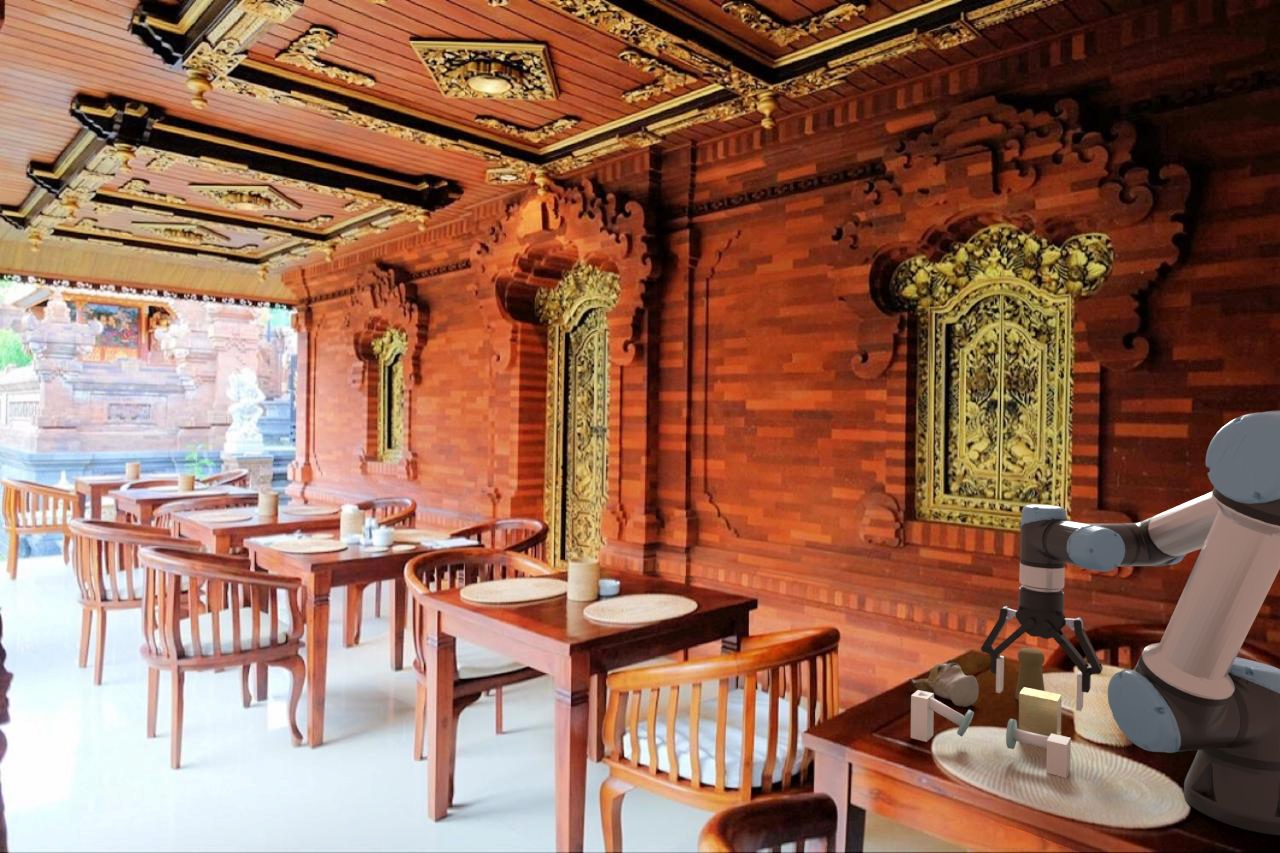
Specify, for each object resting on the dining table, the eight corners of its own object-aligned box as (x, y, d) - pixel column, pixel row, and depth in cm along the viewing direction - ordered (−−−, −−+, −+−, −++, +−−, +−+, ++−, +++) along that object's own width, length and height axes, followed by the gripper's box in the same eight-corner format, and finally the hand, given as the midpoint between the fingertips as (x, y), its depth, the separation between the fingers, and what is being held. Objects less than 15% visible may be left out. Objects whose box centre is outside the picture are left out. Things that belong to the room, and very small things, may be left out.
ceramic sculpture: (952, 670, 157) (906, 653, 172) (952, 712, 157) (906, 692, 171) (994, 666, 161) (945, 650, 175) (994, 708, 160) (946, 689, 174)
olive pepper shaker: (1008, 697, 167) (1009, 646, 167) (1027, 693, 170) (1028, 644, 170) (1033, 706, 162) (1033, 654, 162) (1052, 702, 164) (1053, 651, 164)
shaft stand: (1070, 768, 132) (1071, 719, 132) (1065, 778, 128) (1066, 728, 128) (918, 730, 148) (918, 686, 148) (909, 738, 144) (910, 693, 144)
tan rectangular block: (1023, 733, 147) (1024, 687, 147) (1060, 742, 143) (1061, 694, 143) (1018, 741, 143) (1019, 693, 143) (1056, 750, 139) (1057, 701, 140)
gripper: (1121, 594, 139) (1118, 710, 139) (976, 574, 154) (973, 679, 154) (1116, 602, 133) (1113, 722, 133) (966, 580, 148) (963, 689, 148)
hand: (1038, 699), depth 144 cm, fingers open, 13 cm apart
